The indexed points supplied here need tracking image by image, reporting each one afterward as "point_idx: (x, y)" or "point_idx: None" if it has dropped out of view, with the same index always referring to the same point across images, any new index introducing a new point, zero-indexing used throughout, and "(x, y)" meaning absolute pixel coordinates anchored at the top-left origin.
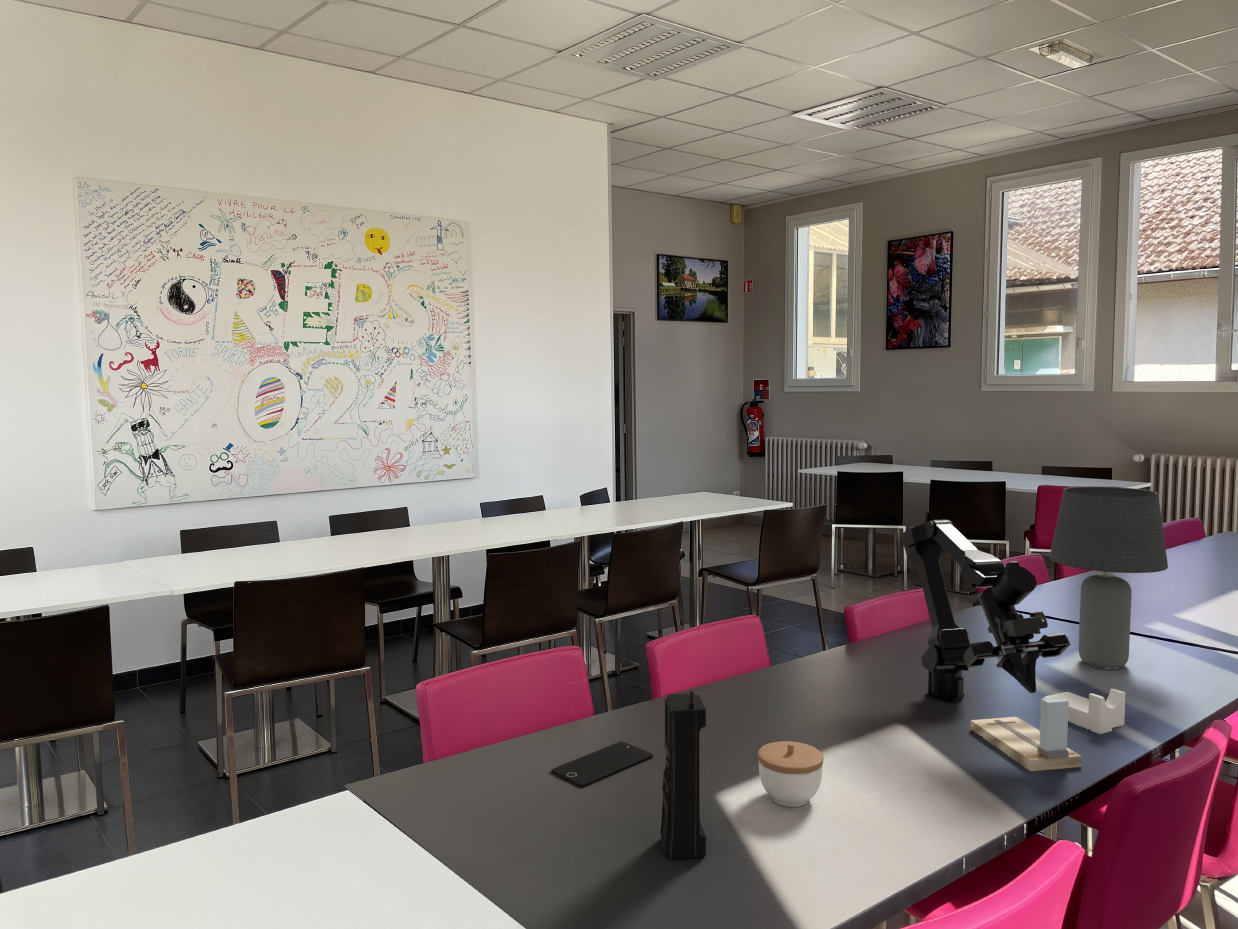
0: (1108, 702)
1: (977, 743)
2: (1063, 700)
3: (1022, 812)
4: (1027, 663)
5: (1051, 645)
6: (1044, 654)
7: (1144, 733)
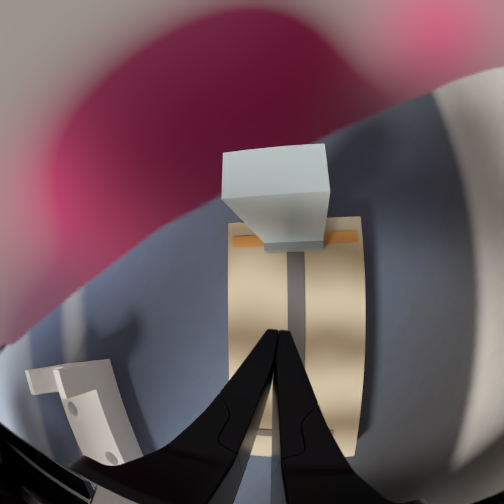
0: (55, 385)
1: (384, 380)
2: (239, 160)
3: (430, 102)
4: (237, 460)
5: (18, 469)
6: (77, 487)
7: (60, 335)
